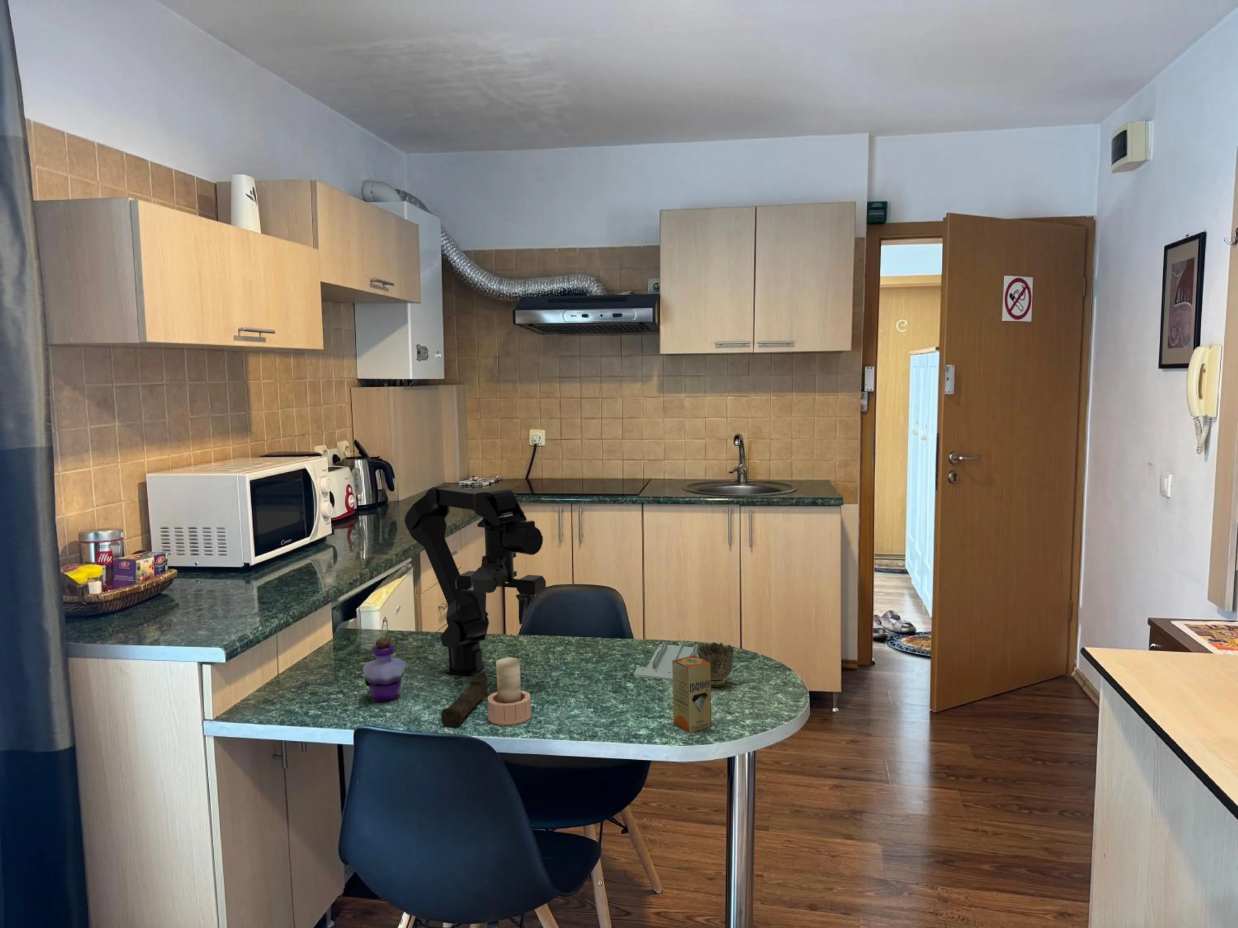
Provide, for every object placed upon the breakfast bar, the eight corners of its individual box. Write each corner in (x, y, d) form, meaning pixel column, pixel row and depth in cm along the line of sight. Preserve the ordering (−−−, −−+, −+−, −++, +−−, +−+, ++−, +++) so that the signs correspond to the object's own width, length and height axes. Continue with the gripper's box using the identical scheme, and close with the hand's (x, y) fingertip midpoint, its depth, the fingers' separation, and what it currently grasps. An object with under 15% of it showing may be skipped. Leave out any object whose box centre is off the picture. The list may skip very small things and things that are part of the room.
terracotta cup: (479, 722, 159) (479, 702, 158) (501, 705, 166) (500, 687, 166) (518, 727, 156) (518, 707, 155) (538, 711, 163) (538, 691, 163)
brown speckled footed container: (690, 685, 175) (690, 648, 174) (712, 676, 180) (711, 639, 180) (720, 694, 170) (719, 655, 169) (741, 684, 175) (740, 646, 175)
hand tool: (460, 729, 156) (459, 705, 156) (440, 727, 157) (439, 703, 157) (498, 692, 175) (498, 670, 174) (480, 691, 176) (480, 669, 175)
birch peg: (493, 713, 161) (491, 662, 160) (509, 705, 164) (507, 655, 163) (510, 718, 158) (508, 666, 157) (526, 710, 162) (524, 660, 161)
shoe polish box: (673, 723, 156) (672, 660, 155) (694, 717, 159) (694, 655, 158) (689, 732, 152) (688, 667, 151) (711, 726, 155) (710, 662, 153)
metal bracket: (651, 634, 193) (715, 640, 187) (654, 655, 195) (717, 662, 189) (630, 671, 180) (698, 678, 175) (633, 694, 182) (701, 702, 177)
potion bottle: (361, 693, 175) (358, 637, 174) (404, 687, 178) (401, 631, 177) (366, 708, 167) (363, 649, 166) (411, 700, 170) (408, 642, 169)
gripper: (439, 554, 173) (442, 629, 174) (520, 559, 166) (523, 637, 167) (468, 544, 183) (471, 615, 184) (545, 548, 176) (548, 621, 178)
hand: (501, 622), depth 178 cm, fingers open, 9 cm apart
